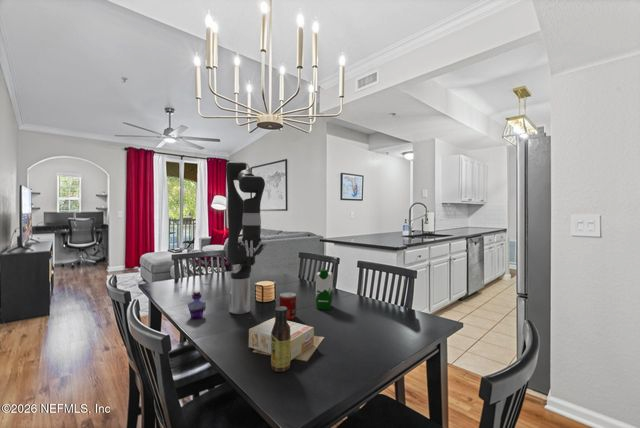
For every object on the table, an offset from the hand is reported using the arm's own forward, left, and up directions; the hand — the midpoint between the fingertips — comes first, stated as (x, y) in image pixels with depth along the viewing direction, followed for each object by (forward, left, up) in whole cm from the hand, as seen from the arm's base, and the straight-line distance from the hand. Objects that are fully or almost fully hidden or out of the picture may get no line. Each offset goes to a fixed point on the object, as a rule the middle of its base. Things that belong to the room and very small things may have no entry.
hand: (251, 265), depth 129 cm
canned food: (+7, +21, -28) cm, 36 cm away
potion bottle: (-34, +7, -28) cm, 45 cm away
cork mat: (+20, -6, -28) cm, 35 cm away
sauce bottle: (+24, -23, -28) cm, 44 cm away
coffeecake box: (+9, -7, -24) cm, 27 cm away
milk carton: (+19, +41, -28) cm, 54 cm away
